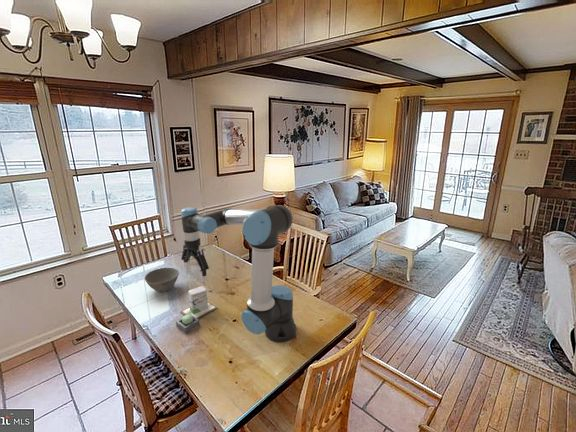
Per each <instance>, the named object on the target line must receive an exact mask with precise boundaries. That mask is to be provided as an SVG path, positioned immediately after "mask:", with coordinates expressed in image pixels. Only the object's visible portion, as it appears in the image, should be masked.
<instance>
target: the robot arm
mask: <svg viewBox="0 0 576 432" xmlns="http://www.w3.org/2000/svg"><path fill="white" fill-rule="evenodd" d="M291 211H292V210H290V209H289V208H288V207H287V206H285V205H282V204H278V205H268V206H267V207H266V208H245V209H244V208H243V209H241V208H240V209H239V208H238V209H234V208H231V207H230V208H224V209H221V210H218V211H216V212H215V211H214V212H210V213H208V214H204V215H203V214H199V212H198V209H197V208H196V207H189V206H188V207H184V208H182V209H181V210H180V212H181V213H180V215H181V216H180V217H181V218H180V219H181V224H182V226H181V227H182V232H183V242H184V244H183V246H182V247H183V250H182V252H181V253H182V254H181V261H183V262H184V268H185V274H186V275H188V274H191V273H192V267H191V261H190V260H191V257H192V258H194V259H195V261H196V262H197V264H198V266H199V268H200V272H199V274H200V282H201V283H204V282H206V281H207V278H208V277H207V270H209V269H210V267H209V265H208V261H207V259H206V257H205V254H204V249H201V250H200V246H201V238H200V236H201V234H200V233H203V234H210V235H211V234H213V233H214V232H215V231H216V229H218V228H220V227H223V226H242V235H243V236H244V240H245V241H246V242H247V243H248V245H249V246H250V248H251V250H252V251H251V280H250V281H251V284H250V286H251V287H250V296H249V297H248V299H247V301H246V309H244V310H243V311H242V312H241V314H240V315H241V316H240V318H241V322H242V323H243V325H244V327H245V328H246V329H247V330H248V331H249V332H250V333H251V334H253V335H261V334H262V333H264V334H265V336H266V337H267V338H268V339H269V340H271V341H273V342H278V343H283V342H288V341H290V340H292V339H293V338H294V337H295V336H296V334H297V326H296V323H295V320H294V316H293V315H294V314H293V313H294V312H293V311H294V310H293V308H294V307H293V306H294V304H293V303H294V300H293V299H294V297H293V296H294V294H293V290H292V289H291V288H290V287H288V286H285V285H281V284H279V285H278V284H277V285H273V275H274V274H273V273H274V258H275V257H274V256H275V249H276V248H277V247H278V246H279V236H280V235H283V234H284V233H286V232H287V231H289V230H290V229H291V227H292V225H293V220H294V217H293V213H292V212H291Z"/></svg>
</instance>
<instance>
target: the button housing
mask: <svg viewBox="0 0 576 432" xmlns="http://www.w3.org/2000/svg"><path fill="white" fill-rule="evenodd" d="M189 315H191V314H189ZM192 316H193V315H192ZM200 323H201V322H200V319H197V318H196V317H194V316H193V322H192V323H191V324H189V325H187V326H185V325H183V324H182V317H181V318H180V319H177V320H176V321H175V327H176V328H177V329H179V330H180V331H182V333H184V334H188V333H189V332H190V331H191V332H192V331H193V330H194V329H196V328H198V327H199V326H200V325H201V324H200Z"/></svg>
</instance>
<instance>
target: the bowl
mask: <svg viewBox="0 0 576 432" xmlns="http://www.w3.org/2000/svg"><path fill="white" fill-rule="evenodd" d="M179 272H180V271H179V270H178V269H177V268H174V267H161V268H156V269H153V270H151V271H149V272H148V273H146V274H145V275H144V280H145V282H146V284H147V285H148V286H149V288H151V289H153V290H154V291H156V292H168V291H169V290H171V289H173V287H174V286H175V284H176V282H177V281H178V278H179V275H180V273H179Z"/></svg>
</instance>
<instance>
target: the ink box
mask: <svg viewBox="0 0 576 432" xmlns="http://www.w3.org/2000/svg"><path fill="white" fill-rule="evenodd" d="M187 295H188V303H189V307H190V311H191V312H192V313H193V314H195V313H198V312H200V311H203V310H206V309H208V302H209V301H208V289H207V288H205V286H204V285H202V286H198V287H195V288H192V289H189V290H188V291H187Z"/></svg>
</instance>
